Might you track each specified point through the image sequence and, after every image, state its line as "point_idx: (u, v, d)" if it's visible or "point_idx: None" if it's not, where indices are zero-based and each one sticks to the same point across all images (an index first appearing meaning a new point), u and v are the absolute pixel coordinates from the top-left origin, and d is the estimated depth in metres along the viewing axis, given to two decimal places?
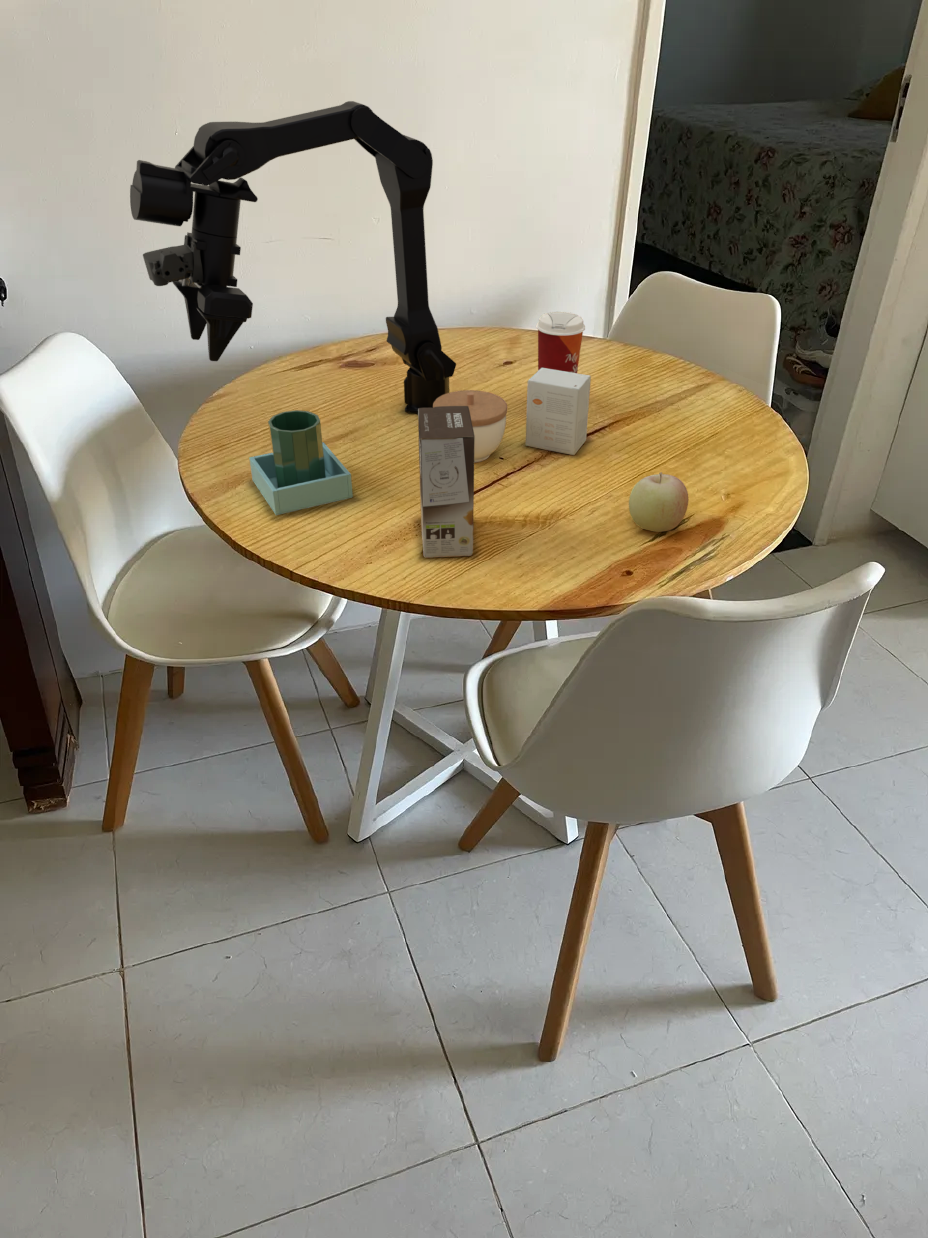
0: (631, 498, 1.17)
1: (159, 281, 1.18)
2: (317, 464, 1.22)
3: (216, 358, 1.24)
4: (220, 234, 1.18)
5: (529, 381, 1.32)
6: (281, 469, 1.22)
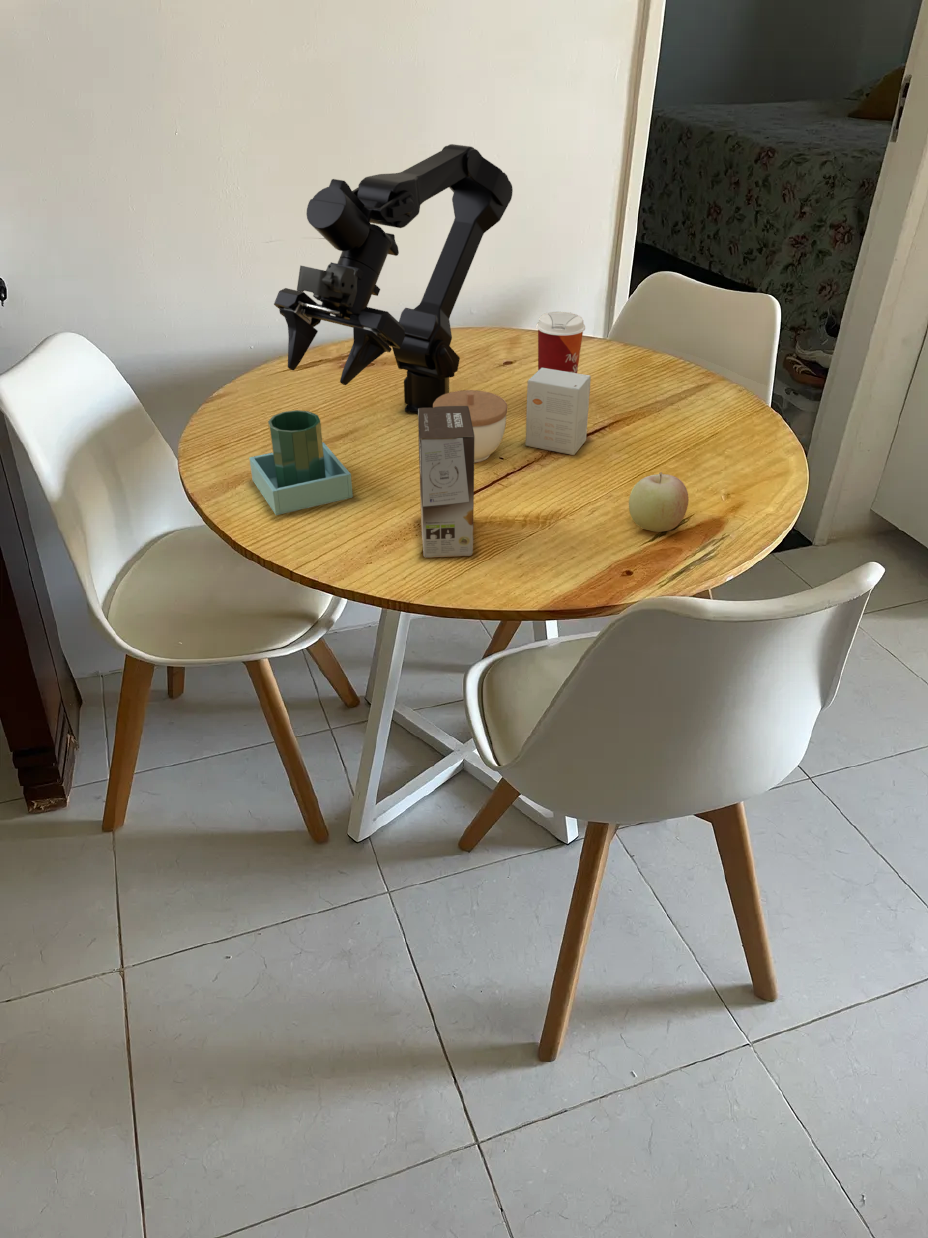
0: (631, 498, 1.17)
1: (325, 291, 1.17)
2: (317, 464, 1.22)
3: (346, 382, 1.22)
4: (375, 270, 1.23)
5: (529, 381, 1.32)
6: (281, 469, 1.22)
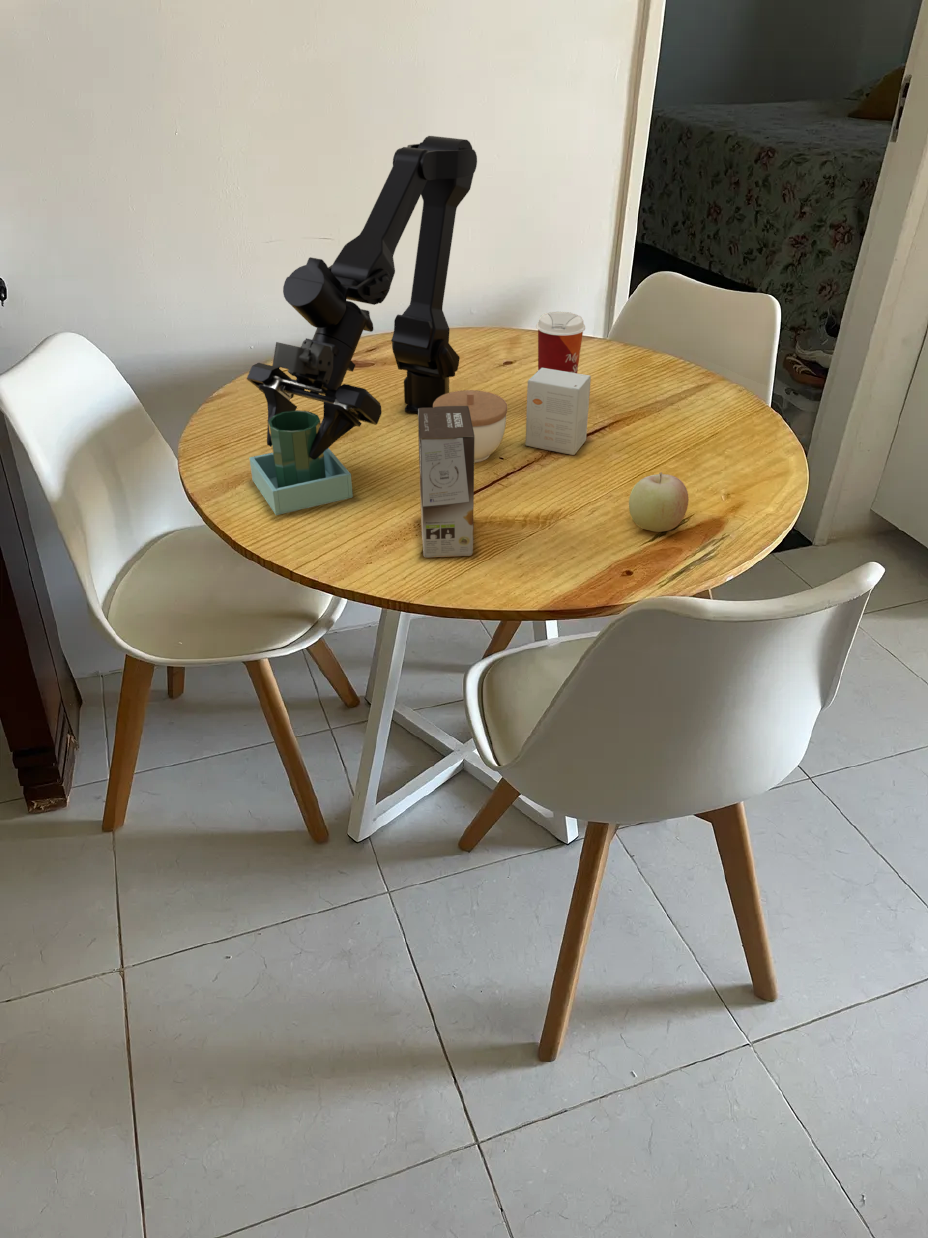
0: (631, 498, 1.17)
1: (301, 368, 1.15)
2: (317, 464, 1.22)
3: (316, 456, 1.21)
4: (351, 346, 1.22)
5: (529, 381, 1.32)
6: (281, 469, 1.22)
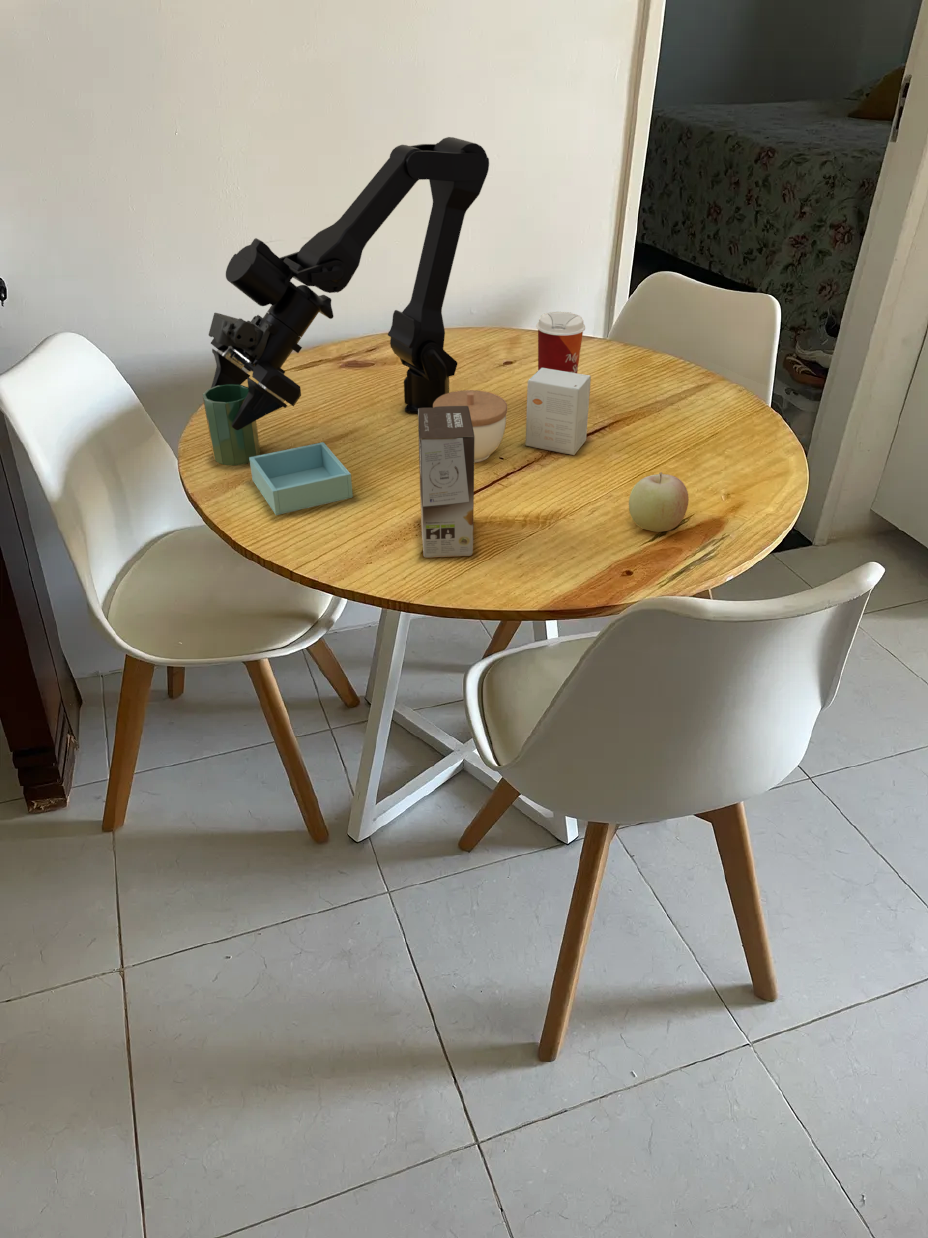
0: (631, 498, 1.17)
1: (224, 340, 1.22)
2: (240, 437, 1.30)
3: (238, 427, 1.27)
4: (293, 328, 1.27)
5: (529, 381, 1.32)
6: (210, 435, 1.31)
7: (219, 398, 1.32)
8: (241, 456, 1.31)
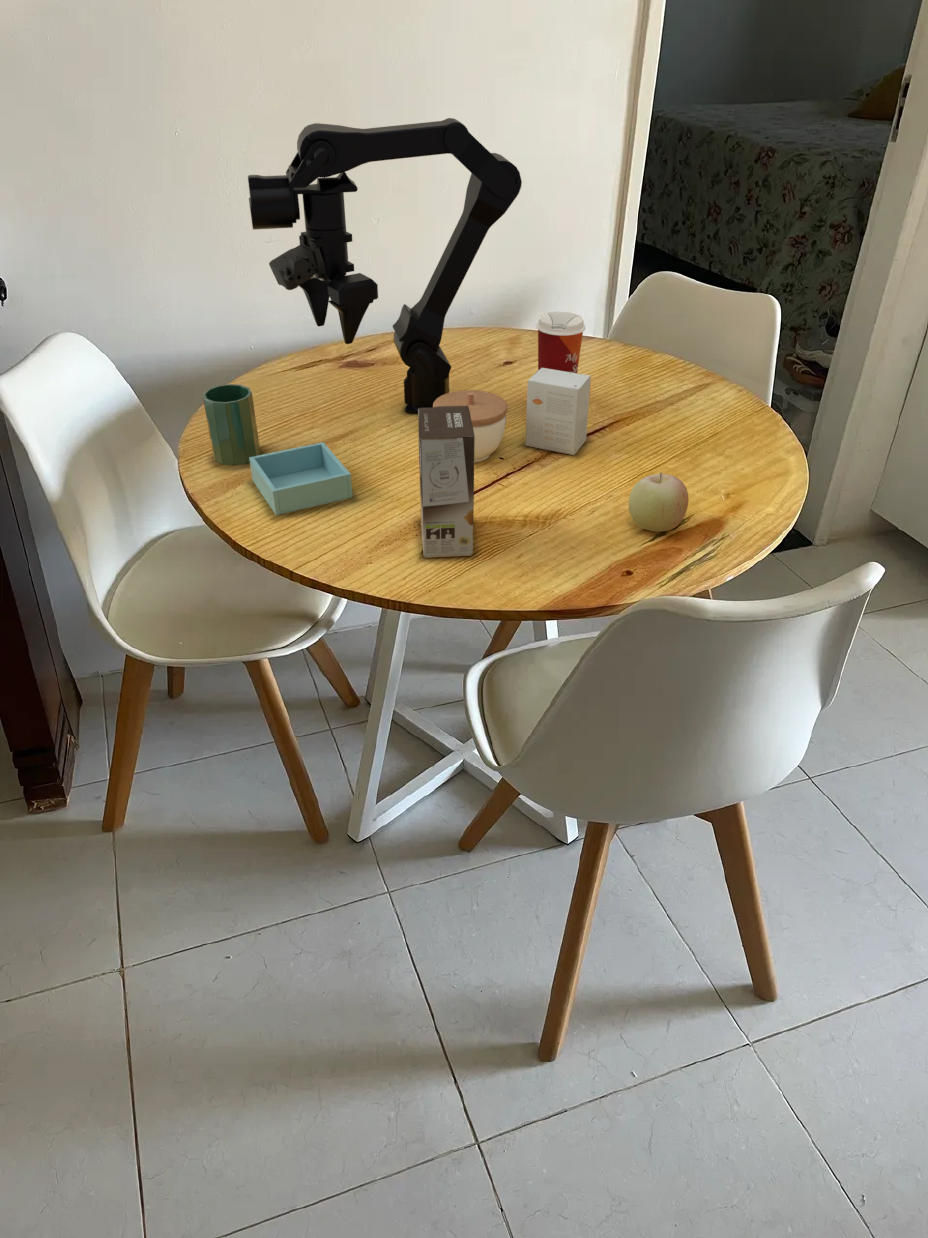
0: (631, 498, 1.17)
1: (291, 285, 1.29)
2: (240, 437, 1.30)
3: (351, 340, 1.36)
4: (326, 228, 1.28)
5: (529, 381, 1.32)
6: (210, 435, 1.31)
7: (219, 398, 1.32)
8: (241, 456, 1.31)
